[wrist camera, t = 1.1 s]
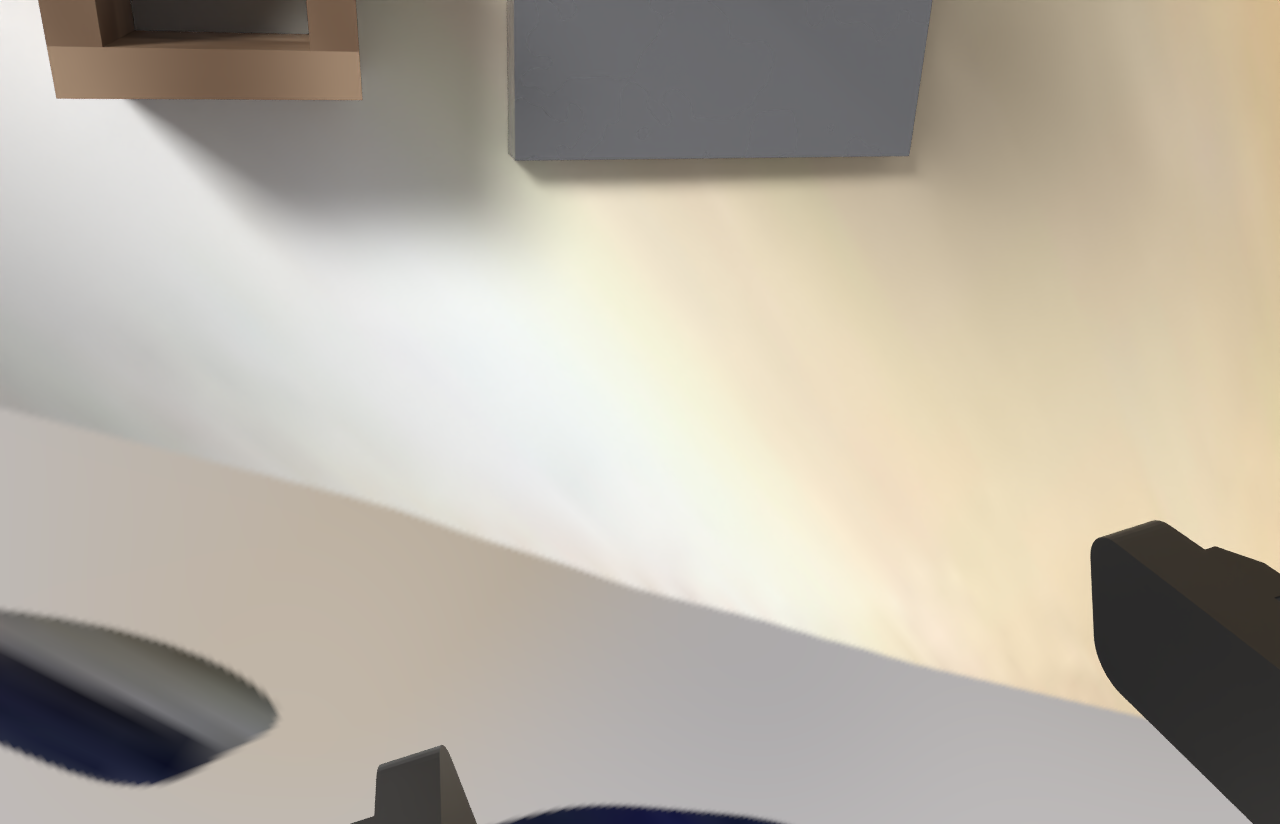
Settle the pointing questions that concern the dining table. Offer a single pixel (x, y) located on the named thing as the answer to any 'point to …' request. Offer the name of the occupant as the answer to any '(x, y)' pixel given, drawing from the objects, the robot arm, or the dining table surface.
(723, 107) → the grey square base plate
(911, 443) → the dining table surface
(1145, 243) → the dining table surface
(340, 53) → the collar
